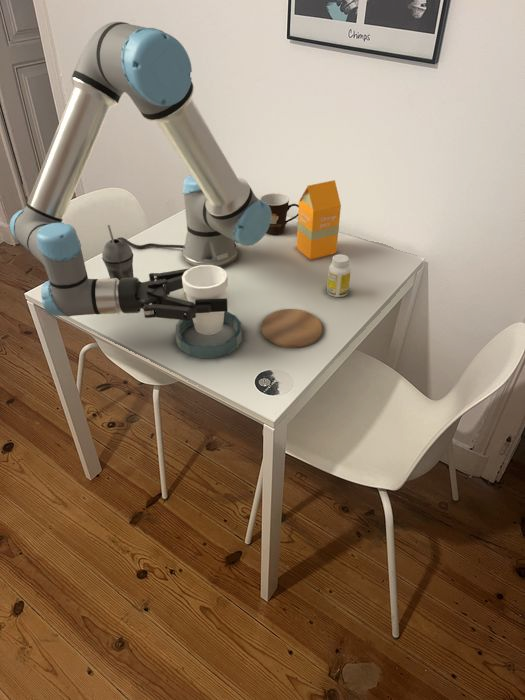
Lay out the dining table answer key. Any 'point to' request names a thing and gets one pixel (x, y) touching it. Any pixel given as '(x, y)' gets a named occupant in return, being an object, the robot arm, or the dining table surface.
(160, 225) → the dining table surface
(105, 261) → the beverage cup
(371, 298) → the dining table surface
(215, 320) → the foam cup
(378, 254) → the dining table surface
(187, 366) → the dining table surface
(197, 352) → the ring
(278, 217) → the coffee mug
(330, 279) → the supplement bottle
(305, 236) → the orange juice
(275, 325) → the wooden coaster
